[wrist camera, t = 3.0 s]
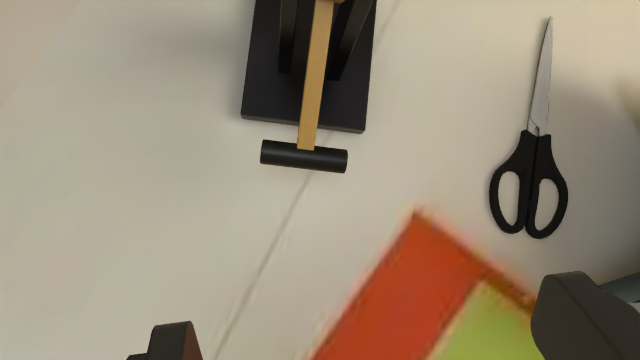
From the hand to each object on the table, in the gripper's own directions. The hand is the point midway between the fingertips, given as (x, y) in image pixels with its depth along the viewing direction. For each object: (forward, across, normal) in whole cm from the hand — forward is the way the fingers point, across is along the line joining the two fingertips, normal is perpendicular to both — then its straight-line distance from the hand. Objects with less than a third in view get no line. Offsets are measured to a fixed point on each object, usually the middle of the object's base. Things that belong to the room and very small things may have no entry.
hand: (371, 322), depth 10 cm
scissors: (+27, -21, +9) cm, 35 cm away
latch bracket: (+31, -2, +3) cm, 31 cm away
